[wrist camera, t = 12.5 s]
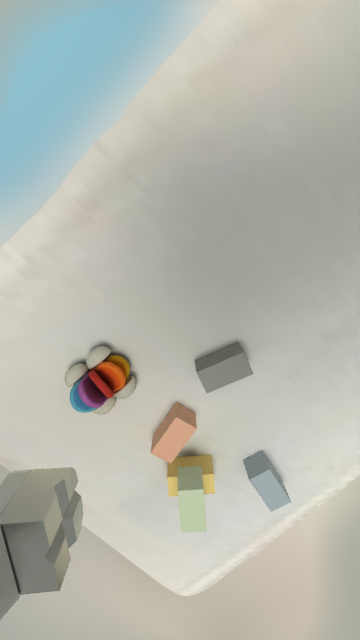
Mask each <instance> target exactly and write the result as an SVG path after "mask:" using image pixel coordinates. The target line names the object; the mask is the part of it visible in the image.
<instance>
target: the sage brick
mask: <svg viewBox="0 0 360 640" xmlns="http://www.w3.org/2000/svg"><path fill="white" fill-rule="evenodd" d="M178 500H179V510H180V521H181V532H198V531H206V517H205V503H204V489H203V479H202V469H201V466H192V467H178Z"/></svg>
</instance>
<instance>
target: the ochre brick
mask: <svg viewBox="0 0 360 640" xmlns="http://www.w3.org/2000/svg"><path fill="white" fill-rule="evenodd" d="M192 466H201V469H202V479H203V489H204V494H214V493H215V489H214V473H213V467H212V461H211V455H199V456H185V457H175V459H174V460H173V462H172V463H171V464H170V463H168V471H167V480H168V490H169V497H171V496H178V467H192Z"/></svg>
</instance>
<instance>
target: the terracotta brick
mask: <svg viewBox="0 0 360 640" xmlns="http://www.w3.org/2000/svg"><path fill="white" fill-rule="evenodd" d="M196 429H197V427H196V417H195V412H193V411H192V410H190V409H188V408H186V407H185V406H183V405H181V404H180V403H178V402H176V403H175V404H174V406H173V407H172V409H171V410H170V411H169V413H168V414H167V416H166V417H165V419H164V420H163V422H162V423H161V424H160V426H159V427H158V429H157V430H156V432H155V433H154V434H153V439H152V447H151V453H152V454H154V455H156V456H157V457H159V458H161V459H163V460H165V461H167V462H168V463H170V464H171V463H172V462H173V460H174V459H175V457H176V456H177V455H178V453H179V452H180V451H181V449H182V448H183V447H184V445H185V444H186V442H187V441H188V440H189V438H190V437H191V436H192V434H193V433H194V432H195V430H196Z"/></svg>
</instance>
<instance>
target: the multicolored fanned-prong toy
mask: <svg viewBox="0 0 360 640" xmlns="http://www.w3.org/2000/svg"><path fill="white" fill-rule="evenodd" d="M110 353H111V350H110V349H109V348H107V347H105V346H98V347H96V348H95V349H93V350H92V351H91V352H90V353H89V354H88V355H87V358H86V364H87V365H85V364H81V363H79V364H75V365H74V366H73V367H71V368H70V369H69V370H68V371H67V372H66V374H65V383H66V385H67V387H70V386H71V385H73V384H74V386H73V387H72V389H71V392H70V402H71V405H72V406H73V408H74V409H75V410H77V411H79V412H91V411H93V412H94V413H96V414H106V413H108V412H109V411H110V410H111V409H112V408H113V407H114V405H115V402H116V398H120V399H123V398H127V397H129V396H130V395H131V394H132V393H133V392H134V390H135V388H136V380H135V378H134V376H133V375H131V376H129V373H130V366H129V363H128V361H127V360H126V359H125V358H123V357H121V356H117V355H112V356H109V357H108V358H106V357H107V356H108V355H109V354H110ZM105 358H106V359H105ZM104 359H105V360H104ZM89 369H93V370H91V371H90V372H87V371H88V370H89Z"/></svg>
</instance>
